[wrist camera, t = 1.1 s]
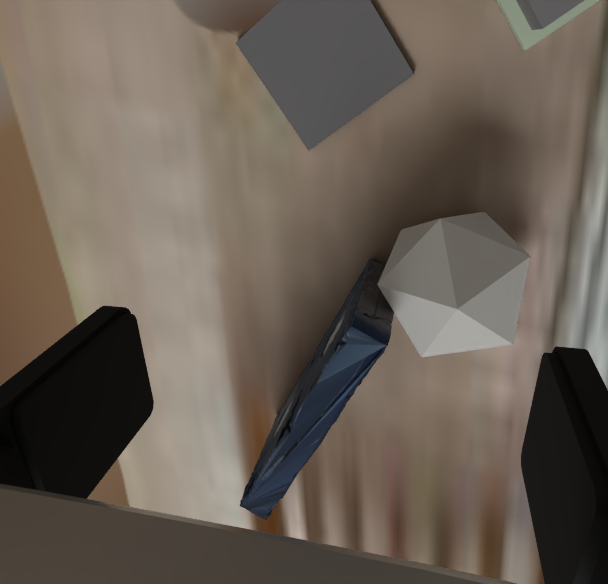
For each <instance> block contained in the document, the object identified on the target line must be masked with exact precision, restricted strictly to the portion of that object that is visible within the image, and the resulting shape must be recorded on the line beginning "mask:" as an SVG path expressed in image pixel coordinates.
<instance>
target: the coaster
mask: <svg viewBox="0 0 608 584" xmlns="http://www.w3.org/2000/svg"><path fill="white" fill-rule="evenodd" d="M236 44H237V46H238V47H239V49H240V50H241V51H242V53H243V54H244V56H245V57H246V59H247V60H248V62H249V63H250V65H251V66H252V68H253V69H254V71H255V72H256V74H257V75H258V76H259V78H260V79H261V81H262V82H263V84H264V85H265V87H266V88H267V90H268V91H269V93H270V94H271V96H272V97H273V99H274V100H275V101H276V103H277V104H278V106H279V107H280V109H281V110H282V112H283V113H284V115H285V116H286V118H287V119H288V121H289V122H290V124H291V125H292V126H293V128H294V129H295V131H296V132H297V134H298V135H299V137H300V138H301V140H302V141H303V143H304V144H305V146H306V147H307V149H308V150H310V149H311V148H313V147H314V146H316V145H317V144H318V143H320V142H321V141H322V140H324V139H325V138H327V137H328V136H329V135H331V134H332V133H333V132H335V131H336V130H338V129H339V128H340V127H342V126H343V125H344V124H346V123H347V122H348V121H350V120H351V119H353V118H354V117H355V116H357V115H358V114H359V113H361V112H362V111H364V110H365V109H366V108H368V107H369V106H370V105H372V104H373V103H375V102H376V101H377V100H379V99H380V98H381V97H383V96H384V95H385V94H387V93H388V92H390V91H391V90H392V89H394V88H395V87H396V86H398V85H399V84H401V83H402V82H403V81H405V80H406V79H407V78H409V77H410V76H412V75H413V74H414V72H413V70H412V69H411V67H410V65H409V64H408V62H407V60H406V59H405V57H404V55H403V54H402V52H401V50H400V49H399V47H398V45H397V44H396V42H395V40H394V39H393V37H392V35H391V34H390V32H389V30H388V29H387V27H386V25H385V24H384V22H383V20H382V19H381V17H380V15H379V13H378V12H377V10H376V8H375V7H374V5H373V3H372V2H371V0H281V1H280V2H279V3H278V4H277V5H276V6H275V7H274V8H273V9H271V11H269V12H268V13H267V14H266V15H265V16H264V17H263V18H262V19H261V20H260V21H258V22H257V23H256V24H255V25H254V26H253V27H252V28H251V29H250V30H249V31H248V32H247V33H246V34H244V35H243V36H242V37H241V38H240V39H239V40H238V41H237V42H236Z"/></svg>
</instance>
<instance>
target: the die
mask: <svg viewBox="0 0 608 584" xmlns="http://www.w3.org/2000/svg"><path fill="white" fill-rule="evenodd" d="M530 257H531V256H530V255H529V254H528V253H527V252H526V251H525V250H524V249H523V248H522V247H521V246H520V245H519V244H517V243H516V242H515V241H514V240H513V239H512V238H511V237H510V236H509V235H508V234H507V233H506V232H505V231H504V230H503V229H502V228H501V227H500V226H499V225H498V224H497V223H496V222H495V221H494V220H493V219H492V218H491V217H490V216H489V215H488V214H487V213H485V212H478V213H472V214H465V215H459V216H452V217H446V218H440V219H436V220H433V221H429V222H426V223H422V224H419V225H415V226H412V227H408V228H405V229H401V231H400V233H399V236H398V238H397V240H396V243H395V245H394V247H393V250H392V252H391V254H390V257H389V259H388V261H387V264H386V266H385V268H384V271H383V273H382V275H381V278H380V280H379V282H378V286H379V288H380V290H381V291H382V293H383V295H384V296H385V298H386V300H387V301H388V303H389V305H390V306H391V308H392V310H393V311H394V313H395V315H396V316H397V318H398V319H399V321H400V323H401V324H402V326H403V328H404V329H405V331H406V333H407V334H408V336H409V338H410V339H411V341H412V343H413V344H414V346H415V348H416V349H417V351H418V352H419V354H420V356H421V357H427V356H434V355H442V354H449V353H456V352H464V351H471V350H478V349H485V348H493V347H500V346H507V345H513V343H514V338H515V333H516V328H517V323H518V318H519V313H520V308H521V302H522V297H523V292H524V287H525V282H526V277H527V272H528V267H529V262H530Z"/></svg>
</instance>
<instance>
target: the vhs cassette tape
mask: <svg viewBox="0 0 608 584" xmlns="http://www.w3.org/2000/svg"><path fill="white" fill-rule="evenodd" d="M384 268H385V265H384V264H381V263H378V262H375V261H374V260H373V259H370V260H369V261H368V263H367V265H366V267H365V269H364V271H363V273H362V274H361V275H360V277H359V278H358V282H357V283H356V284H355V286H354V287H353V289H352V290H351V292H350V294H349V296H348V297H347V299H346V301H345V302H344V304H343V306H342V307H341V309H340V311H339V312H338V314H337V316H336V317H335V319H334V321H333V323H332V324H331V326H330V328H329V329H328V331H327V333H326V334H325V336H324V338H323V339H322V341H321V343H320V345H319V346H318V348H317V350H316V351H315V353H314V355H313V356H312V358H311V360H310V361H309V363H308V365H307V366H306V368H305V370H304V372H303V373H302V375H301V377H300V378H299V380H298V382H297V383H296V385H295V387H294V388H293V390H292V392H291V394H290V395H289V397H288V399H287V400H286V402H285V404H284V406H283V407H282V409H281V411H280V412H279V414H278V416H277V417H276V419H275V421H274V424H273V427H272V429H271V432H270V434H269V436H268V438H267V440H266V442H265V445H264V447H263V449H262V452H261V454H260V457H259V459H258V461H257V464H256V466H255V468H254V472H252V476H251V478H250V480H249V483H248V484H247V485H246V487H245V490H244V494H243V497H242V498H243V499H242V500H241V504H240V506H241V507H243V508H245V509H247V510H249V511H250V512H252V513H253V514H255V515H257V516H259V517H261V518H263V519H265V520H267V518H268V517H269V516H270V515H271V512H272V510H273V509H274V507H275V506H276V504H277V503H278V501H279V499H281V498H283V496H284V495H285V493H286V492H287V490H288V488H289V487H290V485H291V484H292V482H293V480H294V479H295V477H296V476H297V474H298V472H299V471H300V470H301V469H302V467H303V466H304V465H305V464H306V463H307V462H308V460H309V458H310V457H311V456H312V455H313V453H314V452H315V450H316V449H317V448H318V447H319V445H320V444H321V443H322V441H323V439H324V438H325V436H326V434H327V433H328V431H329V429H330V428H331V426H332V425H333V424H334V423H335V422H336V420H337V419H338V417H339V415H340V413H341V412H342V410H343V409H344V407H345V405H346V403H347V401H348V400H349V399H350V398H351V396H352V395H353V394H354V392H355V390H356V388H357V387H358V386H359V385H360V384H361V382H362V380H363V379H364V378H365V376H366V375H367V374H368V372H369V370H370V369H371V368H372V366H373V365H374V363H375V362H376V361H377V359H378V358H379V357H380V356H381V355H382V354H383V353H384V351H385V348H386V346H388V342H389V339H390V335H391V323H392V320H393V314H394V311H393V310H392V308H391V306H390V305H389V303H388V301H387V300H386V298H385V296H384V295H383V293H382V291H381V290H380V288H379V286H378V282H379V280H380V278H381V275H382V273H383V271H384Z"/></svg>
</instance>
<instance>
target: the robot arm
mask: <svg viewBox="0 0 608 584" xmlns="http://www.w3.org/2000/svg"><path fill="white" fill-rule="evenodd" d="M153 404H154V403H153V396H152V392H151V387H150V382H149V377H148V372H147V367H146V363H145V358H144V353H143V348H142V343H141V338H140V334H139V329H138V324H137V320H136V317H135V316H134V315H133V314H131V312H130V311H129V309H127V308H124V307H113V306H102V307H100V308H99V309H98V310H96V311H95V312H94V313H93V314H91V315H90V316H89V317H88V318H86V319H85V320H84V321H83V322H81V323H80V324H79V325H77V326H76V327H75V328H74V329H73V330H71V331H70V332H69V333H67V334H66V335H65V336H63V337H62V338H61V339H60V340H58V341H57V342H56V343H55V344H53V345H52V346H51V347H50V348H48V349H47V350H46V351H44V352H43V353H42V354H41V355H39V356H38V357H37V358H36V359H34V360H33V361H32V362H31V363H29V364H28V365H27V366H25V367H24V368H23V369H22V370H20V371H19V372H18V373H17V374H15V375H14V376H13V377H12V378H10V379H9V380H8V381H6V382H5V383H4V384H3V385H1V386H0V584H516V583H512V582H508V581H504V580H499V579H494V578H490V577H485V576H480V575H476V574H471V573H466V572H461V571H457V570H452V569H447V568H442V567H437V566H433V565H428V564H423V563H419V562H414V561H409V560H404V559H399V558H393V557H388V556H383V555H378V554H373V553H368V552H363V551H358V550H352V549H347V548H342V547H337V546H332V545H327V544H322V543H317V542H312V541H306V540H301V539H296V538H291V537H286V536H281V535H276V534H270V533H265V532H260V531H255V530H249V529H244V528H239V527H234V526H228V525H223V524H218V523H213V522H207V521H202V520H197V519H191V518H186V517H181V516H175V515H170V514H165V513H160V512H154V511H149V510H144V509H138V508H133V507H127V506H121V505H116V504H110V503H105V502H100V501H94V500H89V499H87V497H88V496H89V495H90V494H91V492H92V491H93V490H94V488H95V487H96V486H97V484H98V483H99V482H100V480H101V479H102V478H103V477H104V475H105V474H106V473H107V471H108V470H109V469H110V467H111V466H112V465H113V463H114V462H115V461H116V460H117V458H118V457H119V456H120V454H121V453H122V452H123V450H124V449H125V448H126V447H127V445H128V444H129V443H130V441H131V440H132V439H133V437H134V436H135V435H136V433H137V432H138V431H139V430H140V428H141V427H142V426H143V424H144V423H145V422H146V420H147V419H148V418H149V416H150V415H151V413H152V410H153ZM521 467H522V473H523V478H524V483H525V488H526V493H527V498H528V502H529V507H530V512H531V517H532V522H533V527H534V532H535V537H536V542H537V547H538V552H539V557H540V562H541V567H542V572H543V576H544V581H545V584H608V390H607V388H606V386H605V384H604V382H603V380H602V378H601V376H600V374H599V372H598V370H597V368H596V366H595V364H594V362H593V360H592V358H591V356H590V354H589V352H588V351H587V350H586V349H577V348H566V347H555V348H554V350H553V352H552V353H544V354H543V356H542V359H541V364H540V368H539V373H538V378H537V382H536V387H535V392H534V396H533V401H532V406H531V410H530V415H529V420H528V424H527V429H526V434H525V438H524V443H523V448H522V453H521Z"/></svg>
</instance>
